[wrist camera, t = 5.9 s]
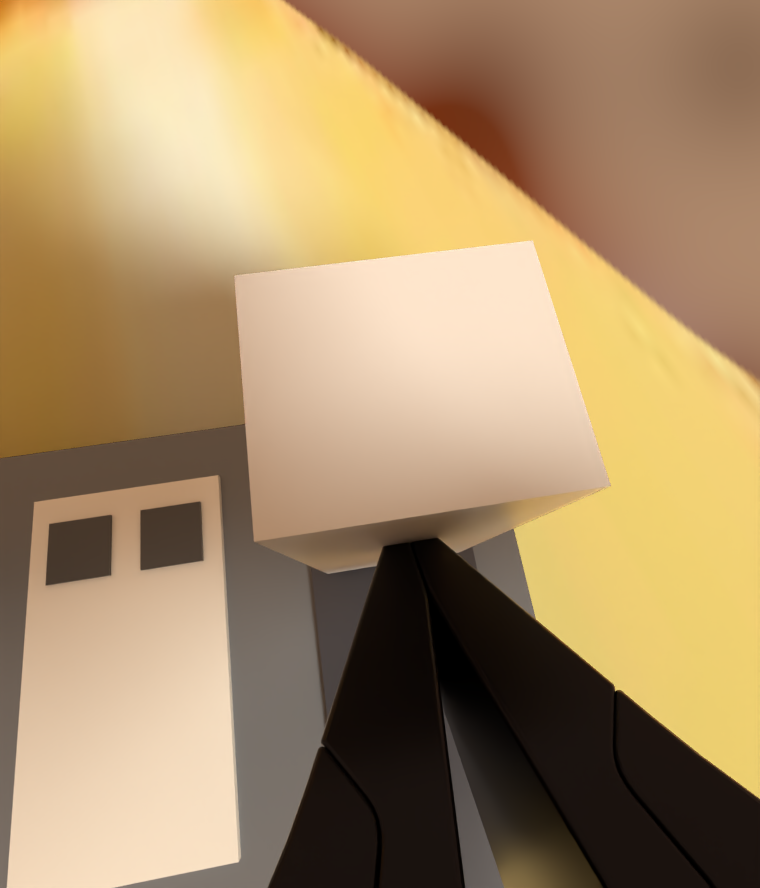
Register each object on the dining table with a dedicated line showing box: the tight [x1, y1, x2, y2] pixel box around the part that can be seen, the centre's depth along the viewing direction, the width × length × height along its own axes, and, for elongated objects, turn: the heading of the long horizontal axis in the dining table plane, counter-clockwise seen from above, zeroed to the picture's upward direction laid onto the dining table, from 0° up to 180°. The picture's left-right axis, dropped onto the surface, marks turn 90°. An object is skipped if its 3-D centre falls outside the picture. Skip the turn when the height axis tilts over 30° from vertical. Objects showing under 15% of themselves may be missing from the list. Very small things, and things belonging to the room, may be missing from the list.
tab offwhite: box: [234, 241, 611, 574], centre depth 9 cm, size 3×4×8 cm
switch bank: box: [0, 424, 536, 888], centre depth 12 cm, size 12×21×2 cm, turn 99°
